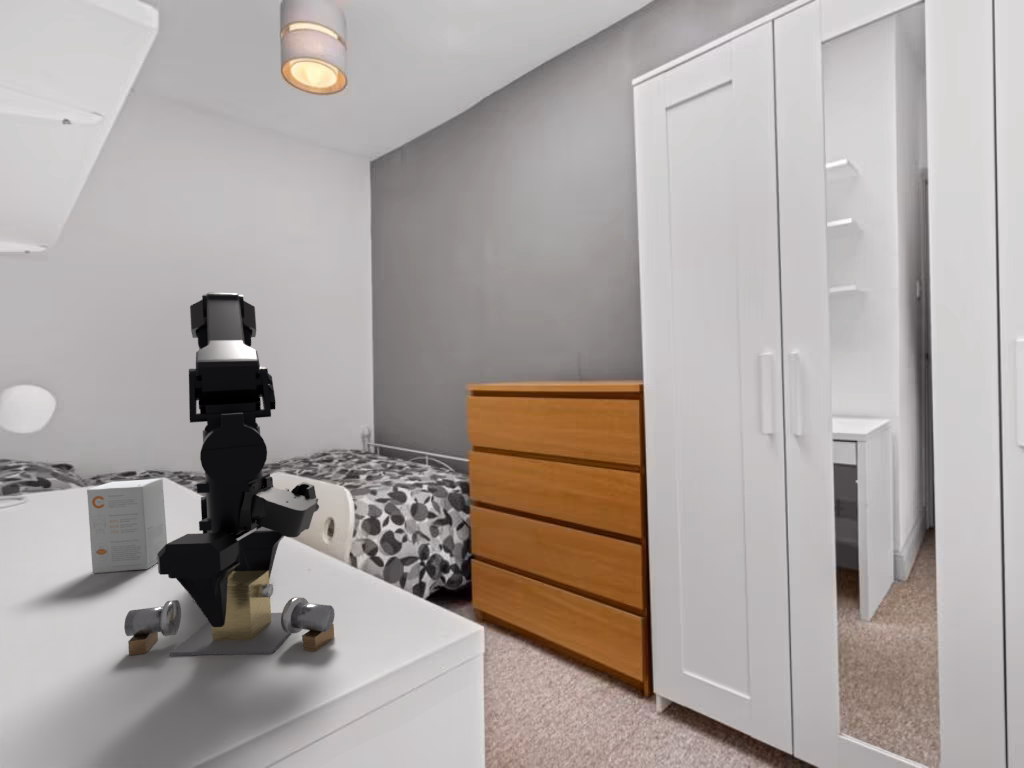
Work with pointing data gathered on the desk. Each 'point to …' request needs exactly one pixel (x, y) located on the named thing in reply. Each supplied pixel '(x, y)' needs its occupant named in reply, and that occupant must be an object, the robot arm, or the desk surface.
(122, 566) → the small box
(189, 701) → the desk surface
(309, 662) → the desk surface
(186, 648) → the mat
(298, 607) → the shaft
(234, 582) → the coupler
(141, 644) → the shaft
